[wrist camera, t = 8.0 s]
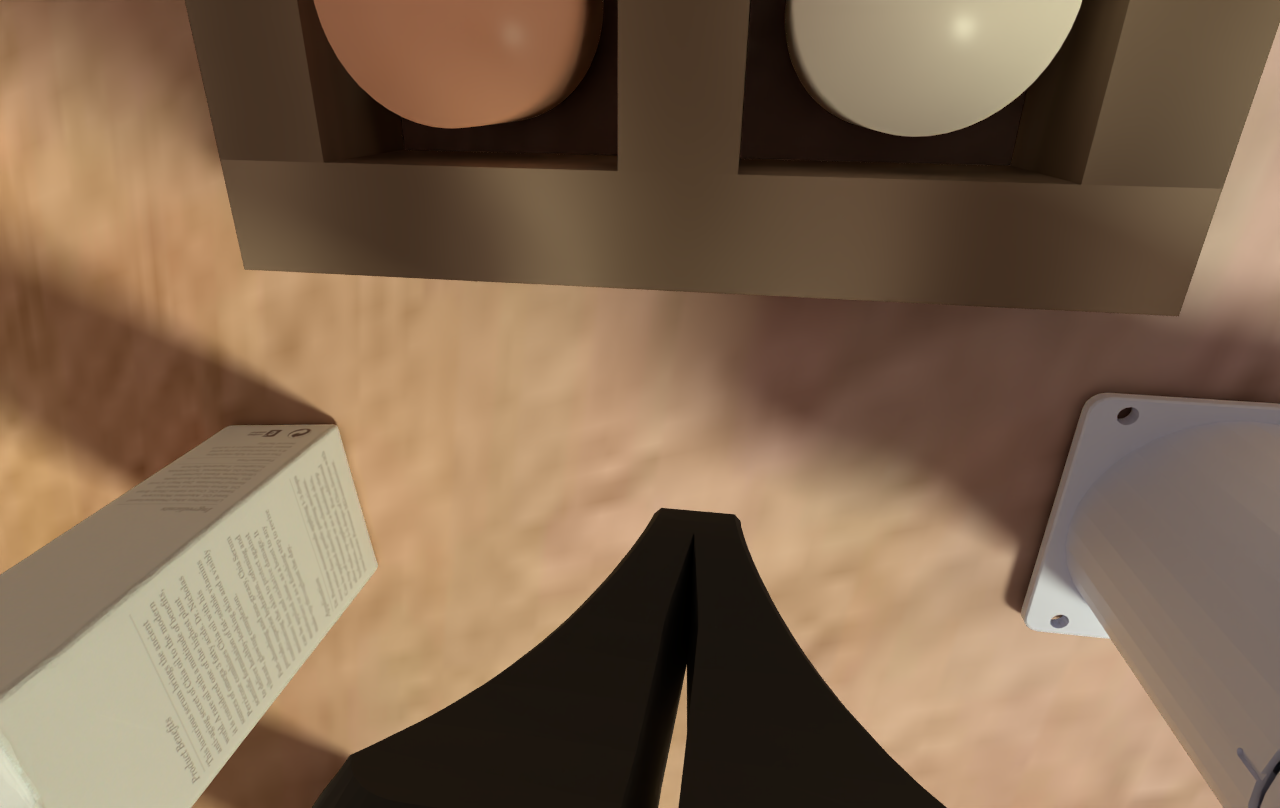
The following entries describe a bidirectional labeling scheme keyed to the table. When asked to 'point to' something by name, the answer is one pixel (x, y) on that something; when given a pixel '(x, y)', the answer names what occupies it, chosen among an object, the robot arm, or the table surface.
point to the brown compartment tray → (750, 171)
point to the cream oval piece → (922, 57)
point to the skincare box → (175, 619)
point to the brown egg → (464, 55)
